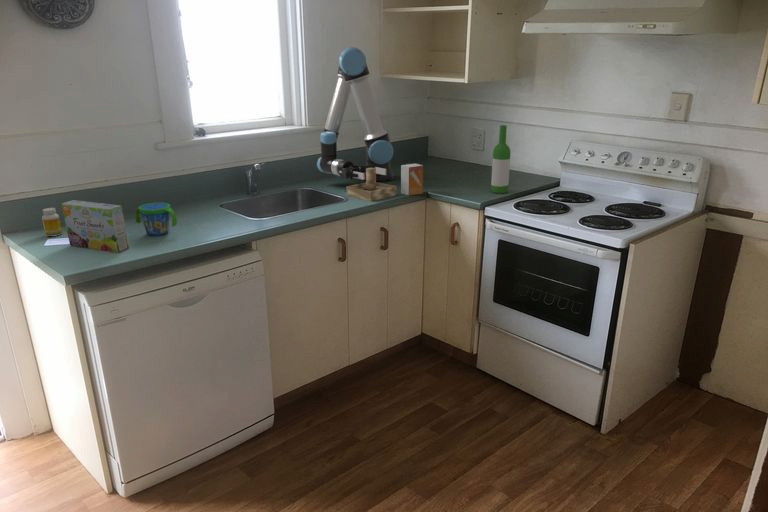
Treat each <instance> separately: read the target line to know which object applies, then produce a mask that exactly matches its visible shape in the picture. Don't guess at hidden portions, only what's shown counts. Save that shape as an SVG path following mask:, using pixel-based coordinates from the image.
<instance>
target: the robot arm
mask: <svg viewBox="0 0 768 512" xmlns="http://www.w3.org/2000/svg"><path fill="white" fill-rule="evenodd" d="M338 61H339V62H338V69H337V74H336V75H337V78H338V79H337V81H336V85H335V89H334V92H333V95H332V96H333V97H332V98H331V99H332V100H331V103H330V107H329V110H328V112H327V113H328V114H327V117H326V121H325V125H324V129H323V132H321V133H320V140H319V141H320V152H321V153H320V157H319V158H317V162H316V167H317V169H318V170H319V171H320V172H322V173H325V174H328V175H329V174H330V175H335V176H337V177H339V178H340V177H344V178H345V179H349V180H353V179H357V180H363V181H366V168H376V181H383V182H387V181H386V180H390V181H392V180H394V173H393V171H392V167H391V160H392V158H393V156H394V147H393V145H392V143H391V136H390V134H389V132H388V131H386V130H384V128H383V124H382V122H381V119H380V114H379V111H378V108H377V105H376V102H375V98H374V95H373V92H372V89H371V86H370V82H369V76H370V70H369V68H368V63H367V58H366V55H365V53H364V52H363V51H362V50H361V49H359V48H358V47H354V46H353V47H351V46H350V47H347V48H345V49H344V50H342V52H341V54H340V56H339V58H338ZM351 92H352V95H353V99H354V102H355V105H356V107H357V111H358V115H359V118H360V121H361V124H362V127H363V130H364V134H365V136H364V137H363V140H364V144H365V148H366V165H363V164H360V165H356V164H353V162H352V161H350V160H345V159H339V158H338V144H337V142H338V138H339V135H340V130H341V127H342V123H343V121H344V117H345V113H346V110H347V107H348V104H349V103H348V102H349V99H350V95H351ZM391 179H392V180H391Z"/></svg>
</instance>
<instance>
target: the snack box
mask: <svg viewBox="0 0 768 512" xmlns="http://www.w3.org/2000/svg"><path fill="white" fill-rule="evenodd" d="M61 208H62V215H63V217H64V223H65V227H66V231H67V236H68V242H69V246H70V245H71V246H70V247H76V248H85V249H89V248H90V250H97V251H102V250H103V252H108V251H109V252H108V253H115V252H116V253H115V254H118V253H121V252H123V251H125V250H128V249H129V248H130V247H129V241H128V236H127V231H126V224H125V217H124V211H123V207H122V205H119V204H111V203H110V204H109V203H103V202H102V203H101V202H93V201H86V200H76V199H72V200H69V201H65V202H63V203H61Z"/></svg>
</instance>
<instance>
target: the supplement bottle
mask: <svg viewBox="0 0 768 512" xmlns="http://www.w3.org/2000/svg"><path fill="white" fill-rule="evenodd" d="M42 214H43V215H42V216H41V220H42V225H43V230H44V235H45V237H47V236H55V235H59V234H61V233H62V234H63V230H62V225H61V221H60V216H59V214H58V213H57V210H56V208H55V207H47V208H43V209H42ZM62 234H61V235H62Z"/></svg>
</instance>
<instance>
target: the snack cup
mask: <svg viewBox="0 0 768 512" xmlns="http://www.w3.org/2000/svg"><path fill="white" fill-rule="evenodd" d="M134 216H135V222H136V223H137V224H141V223H143V227H144V229H145V232H146V234H147V235H148V236H164V235H167V234H168V232H169V230H170V217H172V219H171V220H172V222H171V224H172V225H171V226H172V227H175V226H177V224H178V220H177V219H178V218H177V216H176V213H175V212H174V210H173V208H171V204H169V203H166V202H150V203H144V204H142V205H140V206H138V207H137V208H136V210H135V215H134ZM163 234H164V235H163Z"/></svg>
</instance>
